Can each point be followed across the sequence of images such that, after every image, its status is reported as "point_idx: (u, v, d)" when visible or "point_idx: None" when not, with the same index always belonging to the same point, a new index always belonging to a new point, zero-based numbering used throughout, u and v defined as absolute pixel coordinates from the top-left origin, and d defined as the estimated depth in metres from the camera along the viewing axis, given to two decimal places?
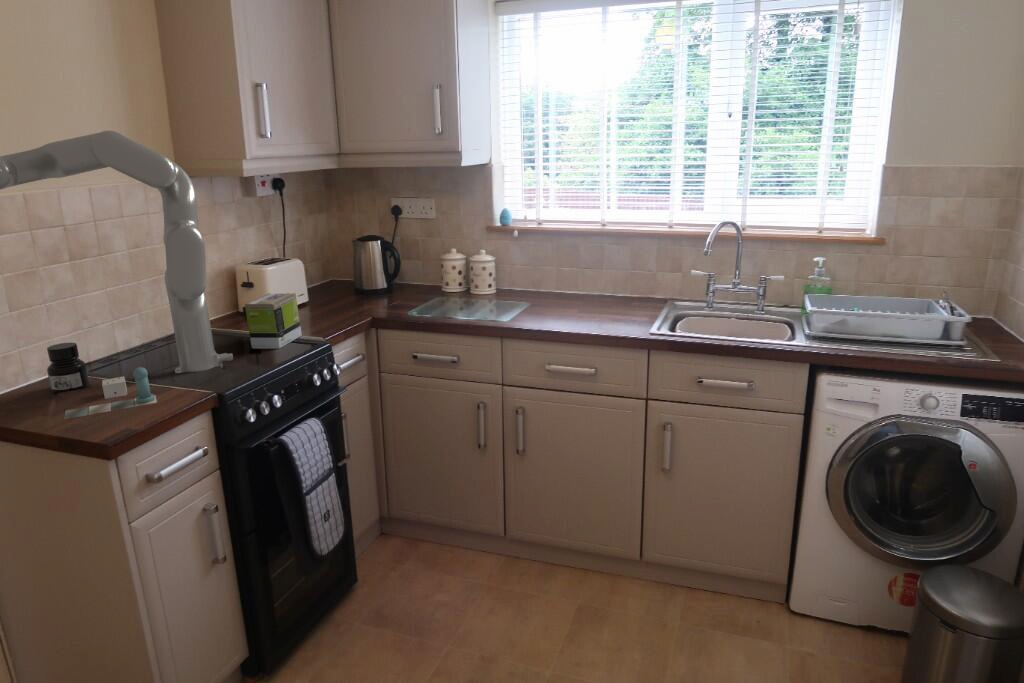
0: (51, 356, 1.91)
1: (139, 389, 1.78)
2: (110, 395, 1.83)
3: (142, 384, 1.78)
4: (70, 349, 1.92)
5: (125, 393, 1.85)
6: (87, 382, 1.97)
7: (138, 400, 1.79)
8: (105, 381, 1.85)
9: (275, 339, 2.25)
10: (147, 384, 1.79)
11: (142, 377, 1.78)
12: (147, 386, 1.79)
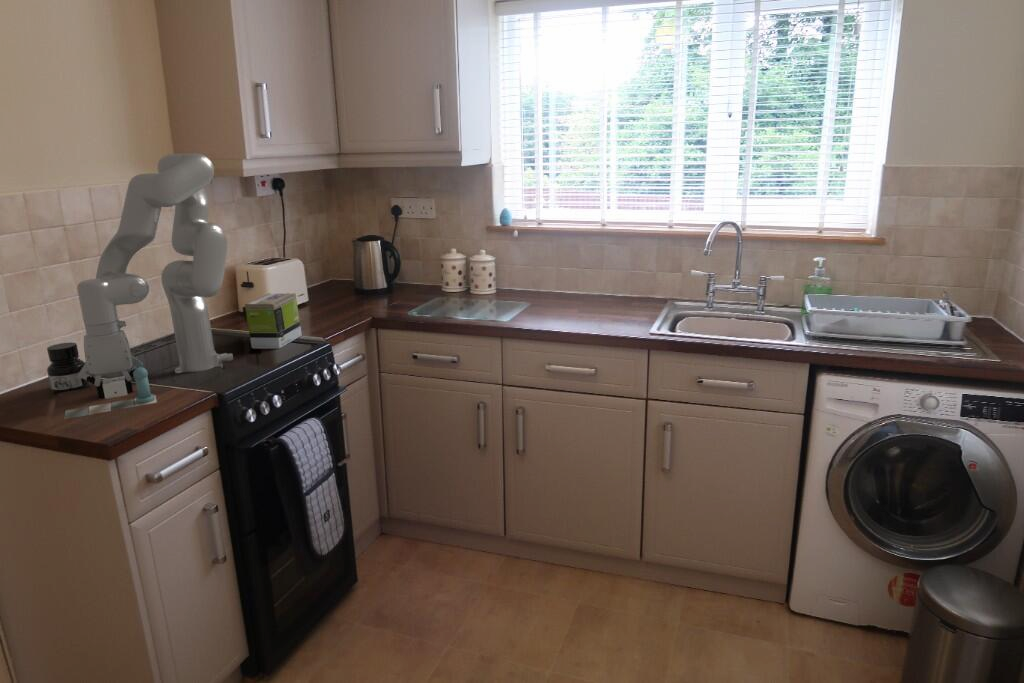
0: (51, 356, 1.91)
1: (139, 389, 1.78)
2: (110, 395, 1.83)
3: (142, 384, 1.78)
4: (70, 349, 1.92)
5: (125, 393, 1.85)
6: (87, 382, 1.97)
7: (138, 400, 1.79)
8: (105, 381, 1.85)
9: (275, 339, 2.25)
10: (147, 384, 1.79)
11: (142, 377, 1.78)
12: (147, 386, 1.79)
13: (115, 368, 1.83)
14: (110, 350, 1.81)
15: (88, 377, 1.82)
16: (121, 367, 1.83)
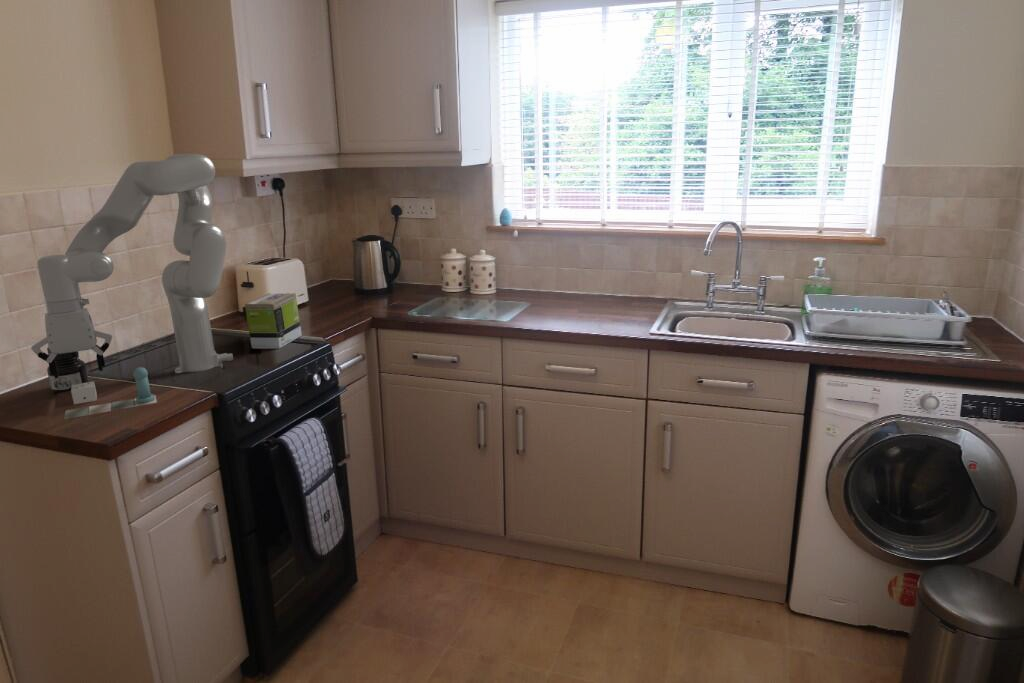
0: None
1: (139, 389, 1.78)
2: (79, 400, 1.80)
3: (142, 384, 1.78)
4: None
5: (95, 398, 1.82)
6: None
7: (138, 400, 1.79)
8: (74, 386, 1.82)
9: (275, 339, 2.25)
10: (147, 384, 1.79)
11: (142, 377, 1.78)
12: (147, 386, 1.79)
13: (78, 347, 1.78)
14: (72, 328, 1.76)
15: (39, 353, 1.76)
16: (84, 346, 1.79)
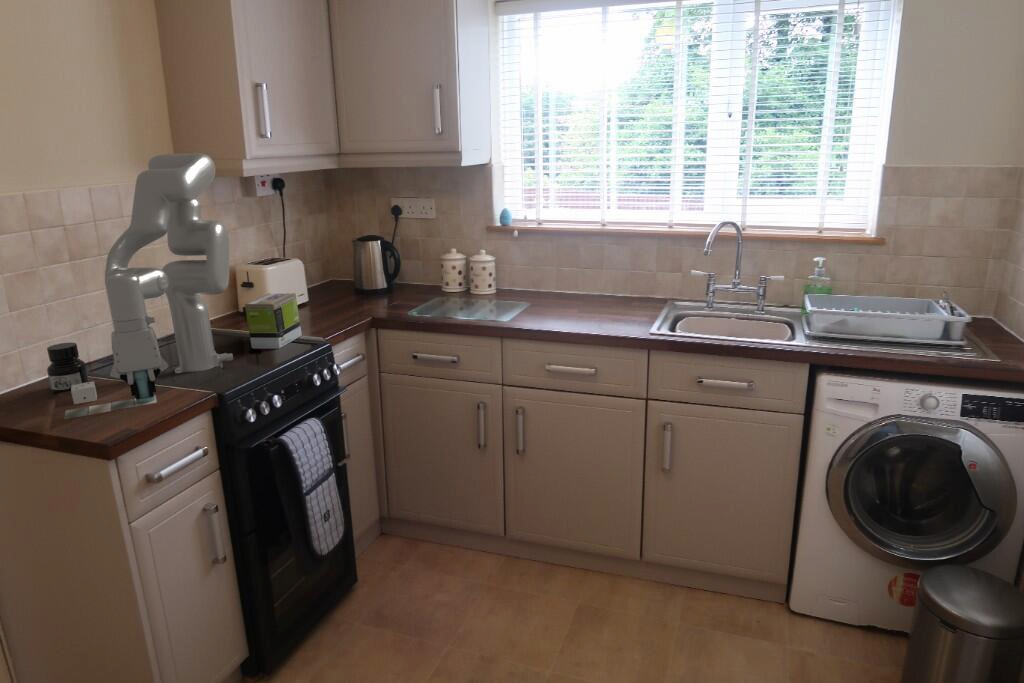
0: (51, 356, 1.91)
1: (139, 389, 1.78)
2: (79, 400, 1.80)
3: (142, 384, 1.78)
4: (70, 349, 1.92)
5: (95, 398, 1.82)
6: None
7: (138, 400, 1.79)
8: (74, 386, 1.82)
9: (275, 339, 2.25)
10: (147, 384, 1.79)
11: (142, 377, 1.78)
12: (147, 386, 1.79)
13: (144, 366, 1.77)
14: (139, 347, 1.75)
15: (121, 375, 1.76)
16: (149, 365, 1.77)
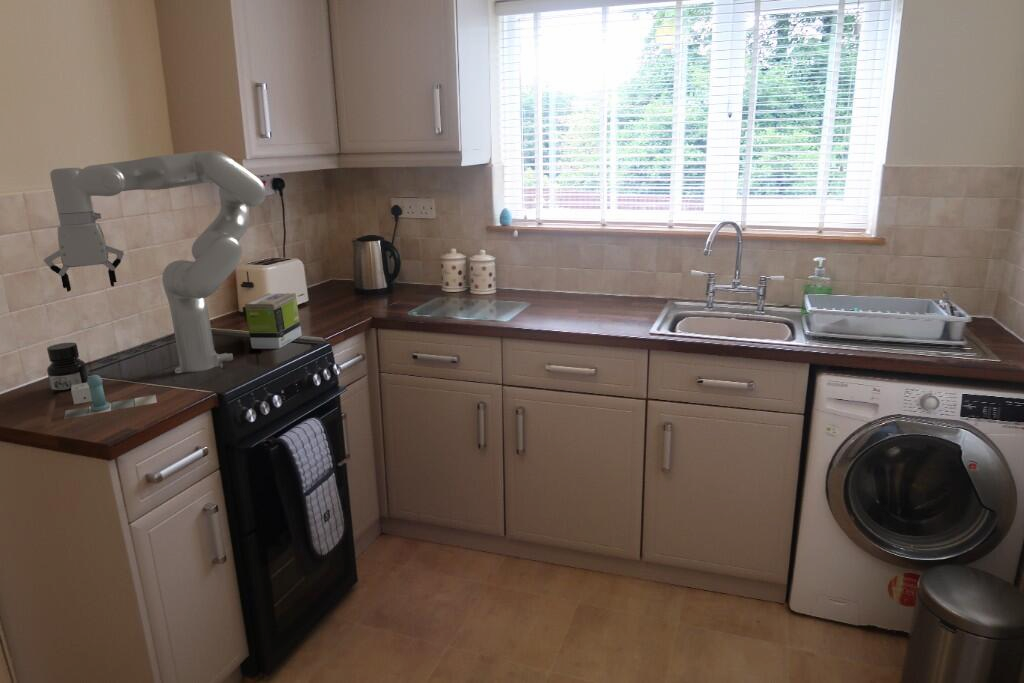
0: (51, 356, 1.91)
1: (93, 397, 1.74)
2: (80, 400, 1.80)
3: (96, 392, 1.74)
4: (70, 349, 1.92)
5: None
6: None
7: (92, 408, 1.74)
8: (74, 386, 1.82)
9: (275, 339, 2.25)
10: (102, 392, 1.75)
11: (96, 385, 1.73)
12: (102, 394, 1.75)
13: (90, 261, 1.79)
14: (84, 241, 1.78)
15: (52, 266, 1.77)
16: (96, 260, 1.80)
